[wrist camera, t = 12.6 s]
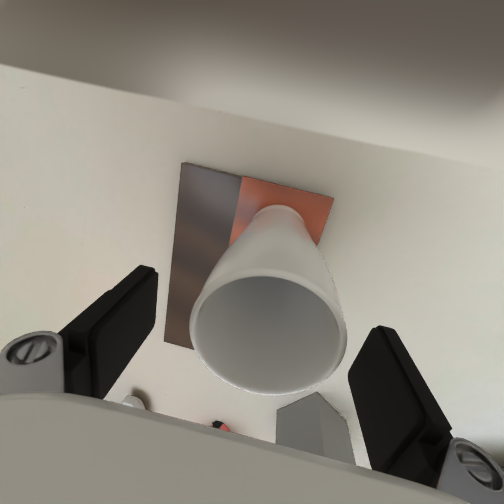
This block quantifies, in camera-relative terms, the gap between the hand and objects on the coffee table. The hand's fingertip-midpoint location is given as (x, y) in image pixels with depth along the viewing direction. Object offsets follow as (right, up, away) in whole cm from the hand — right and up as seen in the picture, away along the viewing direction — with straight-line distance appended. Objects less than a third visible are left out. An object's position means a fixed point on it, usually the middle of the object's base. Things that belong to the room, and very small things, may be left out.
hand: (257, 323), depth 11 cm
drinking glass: (+2, +5, +14) cm, 15 cm away
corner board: (-2, 0, +17) cm, 17 cm away
